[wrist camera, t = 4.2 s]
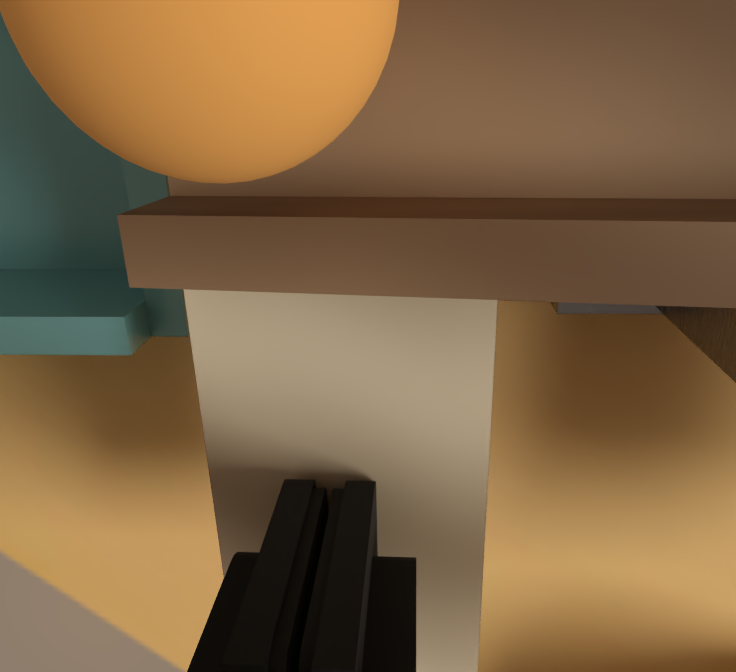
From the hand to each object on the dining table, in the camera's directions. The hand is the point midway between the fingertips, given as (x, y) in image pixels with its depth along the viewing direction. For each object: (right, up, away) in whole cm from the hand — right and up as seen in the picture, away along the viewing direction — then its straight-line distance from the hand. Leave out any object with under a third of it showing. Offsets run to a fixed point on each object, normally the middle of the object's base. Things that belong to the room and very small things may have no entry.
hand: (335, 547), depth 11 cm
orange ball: (-1, +8, -5) cm, 9 cm away
